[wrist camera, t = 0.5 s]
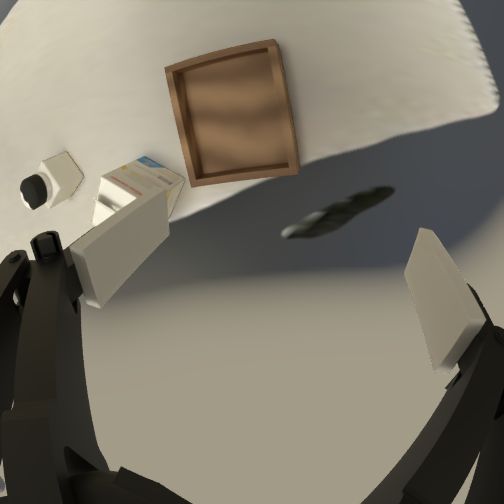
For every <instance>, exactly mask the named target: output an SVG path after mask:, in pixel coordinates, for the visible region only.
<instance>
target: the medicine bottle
mask: <svg viewBox="0 0 504 504" xmlns="http://www.w3.org/2000/svg"><path fill="white" fill-rule="evenodd" d="M83 177H84V176H83V174H82V173H81V172H80V170H79V169H78V167H77V166H76V165H75V163H74V162H73V160H72V159H71V157H70V156H69V154H68V153H67V152H64V153H62V154H59V155H57V156H54V157H52V158H49V159H47V160H44V161H42V162H41V164H40V167H39V169H38V171H37V173H36V174H34V175H32V176H30V177H28V178H26V179H24V180H23V181H22V183H21V186H20V193H21V198H22V200H23V202H24V204H25V205H26V207H27V208H29V209H31V210H34V209H36V208H38V207H40V206H41V205H43V204H45V205H46V207H47V208H48V209H51V208H52V207H54V206H56V205H57V204H59V203H61V202H62V201H64V200H66V199H68V198H69V197H71V196H72V194H73V192H74V191H75V189H76V188H77V186H78V185H79V183H80V182H81V180H82V179H83Z"/></svg>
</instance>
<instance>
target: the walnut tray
mask: <svg viewBox="0 0 504 504" xmlns="http://www.w3.org/2000/svg"><path fill="white" fill-rule="evenodd" d="M165 73H166V78H167V83H168V88H169V93H170V97H171V102H172V107H173V111H174V116H175V121H176V125H177V129H178V134H179V138H180V143H181V147H182V151H183V155H184V159H185V164H186V168H187V172H188V176H189V180H190V184H191V188H192V187H198V186H205V185H212V184H219V183H226V182H233V181H241V180H249V179H258V178H267V177H276V176H286V175H297V174H298V172H299V169H300V165H299V158H298V151H297V144H296V138H295V131H294V125H293V119H292V113H291V107H290V101H289V96H288V90H287V85H286V80H285V74H284V69H283V64H282V59H281V54H280V50H279V45H278V44H277V42H276V41H275V40H274V39H271V40H265V41H260V42H254V43H249V44H245V45H240V46H236V47H231V48H227V49H223V50H219V51H215V52H212V53H208V54H205V55H201V56H198V57H195V58H191V59H188V60H185V61H182V62H179V63H176V64H173V65H170V66H167V67H165Z"/></svg>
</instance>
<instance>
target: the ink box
mask: <svg viewBox="0 0 504 504" xmlns="http://www.w3.org/2000/svg"><path fill="white" fill-rule="evenodd" d="M184 181H185V179H184V178H183V177H181V176H179V175H178V174H176V173H174V172H172V171H170V170H168V169H166V168H165V167H163V166H161V165H159V164H157V163H155V162H153V161H151V160H150V159H148V158H146V157H142V158H139V159H137V160H135V161H133V162H131V163H128V164H126V165H124V166H122V167H120V168H117V169H115V170H113V171H111V172H109V173H107V174H105V175H103V176H101V179H100V183H99V187H98V192H97V197H96V199H95V198H93V197H92V198H93V199H94V200H95V207H94V211H93V217H92V224H94V225H95V226H97V225H99V224H100V223H101V222H103V221H104V220H106V219H107V218H109V217H110V216H111V215H113V214H114V213H116V212H117V211H119V210H120V209H122V208H123V207H124V206H126V205H127V204H129V203H130V202H132V201H133V200H135V199H136V198H138V197H140V196H141V195H143V194H144V193H146V192H147V191H149V190H150V189H152V188H154V187H157V188H166V192H167V209H168V219H169V217H170V214H171V212H172V210H173V207H174V205H175V202H176V200H177V197H178V195H179V193H180V190H181V188H182V186H183V183H184Z"/></svg>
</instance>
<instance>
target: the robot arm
mask: <svg viewBox="0 0 504 504" xmlns="http://www.w3.org/2000/svg"><path fill="white" fill-rule="evenodd" d="M168 235H169V223H168V209H167V192H166V188H157V187H154V188H152V189H150V190H149V191H147V192H146V193H144V194H143V195H141V196H140V197H138V198H136V199H135V200H133V201H132V202H130V203H129V204H127V205H126V206H124V207H123V208H122V209H120V210H119V211H117V212H116V213H114V214H113V215H111V216H110V217H109V218H107V219H106V220H104V221H103V222H101V223H100V224H99V225H97V226H96V227H93V228H92V229H91V230H89V231H88V232H87V233H86V234H84V235H83V236H81V238H79V239H77V240H76V241H75V242H73V243H72V244H71V245H70V246H68V247H67V248H66V249H64V250H63V249H62V245H61V241H60V238H59V234H58V232H56V231H46V232H43V233H41V234H39V235H37V236H35V237H34V238H33V239H32V240H31V242H30V243H31V247H32V250H33V253H34V256H35V259H36V260H29V259H28V256H27V253H26V251H25V250H15V251H14V252H11V253H10V254H9V255H7V256H6V257H5V259H4V260H3V261H2V263H1V264H0V465H1V460H2V458H3V467H4V477H5V483H4V481H3V479H2V478H1V477H0V492H3V491H4V488H5V484H6V490H7V496H4V497H0V504H192V503H190V502H188V501H187V500H185V499H184V498H182V497H180V496H179V495H177V494H175V493H174V492H172V491H170V490H169V489H167V488H166V487H164V486H163V485H161V484H160V483H157V482H155V481H153V480H150V479H147V478H145V477H143V476H140V475H138V474H136V473H134V472H132V471H130V470H127V469H125V468H123V467H121V468H120V469H119V471H118V472H115V471H110V470H109V468H108V465H107V463H106V460H105V458H104V456H103V455H102V453H101V452H100V449H99V447H98V444H97V441H96V437H95V432H94V427H93V422H92V417H91V411H90V406H89V400H88V394H87V386H86V378H85V370H84V360H83V349H82V334H81V305H80V301H79V299H78V297H79V296H80V295H81V294H82V293H83V294H84V296H85V299H86V302H87V304H89V305H91V306H95V307H97V308H101V307H102V306H103V305H104V304H105V303H106V302H107V300H108V299H109V298H110V297H111V296H112V295H113V294H114V293H115V291H116V290H117V289H118V288H119V287H120V286H121V285H122V284H123V283H124V281H125V280H126V279H127V278H128V277H129V276H130V275H131V274H132V273H133V272H134V271H135V270H136V269H137V267H138V266H139V265H140V264H141V263H142V262H143V261H144V260H145V259H146V258H147V257H148V256H149V255H150V254H151V253H152V252H153V251H154V250H155V249H156V248H157V247H158V246H159V244H160V243H161V242H162V241H163V240H164V239H165V238H166V237H167V236H168ZM404 275H405V278H406V281H407V284H408V286H409V289H410V292H411V295H412V298H413V301H414V304H415V307H416V310H417V313H418V316H419V319H420V323H421V326H422V329H423V333H424V336H425V340H426V343H427V347H428V351H429V354H430V358H431V362H432V367H433V371H434V373H450V371H451V370H452V369H453V367H454V366H455V365H456V364H457V363H458V366H459V369H460V371H459V372H458V373H457V374H456V376H455V377H454V378H453V379H452V380H451V382H450V383H449V384H448V385H447V386H446V387H445V388H446V389H448V390H447V392H446V393H445V395H444V397H443V398H442V400H441V402H440V404H439V405H438V407H437V408H436V410H435V412H434V413H433V415H432V416H431V418H430V419H429V421H428V422H427V424H426V426H425V427H424V428H423V430H422V431H421V433H420V434H419V436H418V437H417V438H416V440H415V441H414V442H413V444H412V445H411V447H410V448H409V449H408V450H407V452H406V453H405V454H404V456H403V457H402V458H401V460H400V461H399V462H398V463H397V464H396V466H395V467H394V468H393V469H392V470H391V471H390V473H389V474H388V475H387V476H386V477H385V478H384V480H383V481H382V482H381V483H380V484H379V485H378V486H377V487H376V488H375V489H374V490H373V492H371V494H370V495H369V496H368V497H367V498H366V499H365V500H364V501H363V502H362V503H361V504H451V503H452V502H453V500H454V498H455V497H456V495H457V494H458V492H459V490H460V488H461V487H462V485H463V483H464V481H465V480H466V478H467V476H468V474H469V472H470V470H471V468H472V466H473V465H474V463H475V461H476V458H477V456H478V454H479V452H480V454H479V458H478V462H477V466H476V470H475V473H474V476H473V480H472V483H471V486H470V489H469V493H468V495H467V498H466V501H465V503H464V504H504V329H503V328H501V327H499V326H494V325H493V323H492V321H491V319H490V317H489V315H488V313H487V311H486V309H485V308H484V307H483V304H482V302H481V301H480V298H479V297H478V295H477V293H476V291H475V290H474V289H473V288H472V287H471V286H470V285H469V284H468V283H466V281H465V280H464V278H463V276H462V275H461V273H460V271H459V270H458V268H457V267H456V265H455V263H454V262H453V260H452V259H451V257H450V256H449V254H448V252H446V249H445V248H444V247H443V245H442V244H441V242H440V241H439V239H438V238H437V236H436V235H435V233H434V232H433V231H432V230H428V229H424V228H420V229H419V232H418V235H417V238H416V241H415V244H414V247H413V250H412V253H411V256H410V258H409V261H408V264H407V267H406V269H405V272H404ZM14 292H15V295H16V297H17V299H18V303H17V304H15V303H14V301H13V294H14ZM13 399H14V405H13V408H12V404H13ZM11 408H12V410H11Z"/></svg>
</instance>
